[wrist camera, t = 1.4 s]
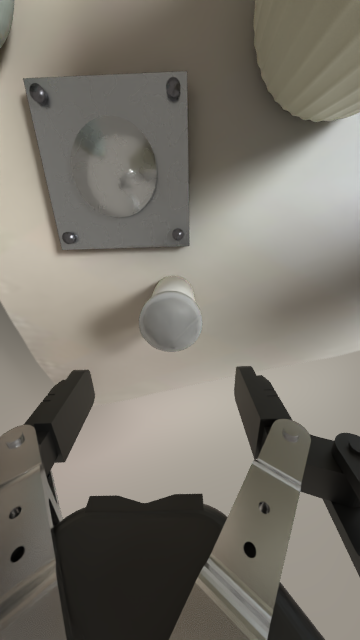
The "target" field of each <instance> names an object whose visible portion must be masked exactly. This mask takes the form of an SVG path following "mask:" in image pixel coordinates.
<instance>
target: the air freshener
mask: <svg viewBox="0 0 360 640" xmlns="http://www.w3.org/2000/svg"><path fill="white" fill-rule="evenodd" d="M13 11H14V0H0V48H1V47H2V45H3V44H4V42H5V40H6V38H7V36H8V34H9V31H10V27H11V24H12V20H13Z"/></svg>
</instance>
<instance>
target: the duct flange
mask: <svg viewBox="0 0 360 640" xmlns="http://www.w3.org/2000/svg"><path fill="white" fill-rule="evenodd" d="M23 80H24V85H25V89H26V94H27V98H28V102H29V107H30V111H31V116H32V120H33V124H34V129H35V133H36V137H37V142H38V146H39V151H40V155H41V159H42V164H43V168H44V173H45V177H46V181H47V186H48V190H49V195H50V199H51V203H52V208H53V212H54V216H55V221H56V225H57V230H58V234H59V238H60V243H61V247H62V250H74V249H105V248H137V247H169V246H189V179H188V103H187V71H181V72H158V73H135V74H113V75H90V76H67V77H45V78H23Z"/></svg>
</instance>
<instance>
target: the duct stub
mask: <svg viewBox="0 0 360 640" xmlns="http://www.w3.org/2000/svg"><path fill="white" fill-rule="evenodd" d="M139 327H140V331H141V334H142V336H143V337H144V339H145V340H146V341H147V342H148V343H149V344H150V345H151V346H153V347H155V348H156V349H159V350H162V351H167V352H176V351H181V350H184V349H186V348H188V347H189V346H191V345H192V344H193V343H194V342H195V341H196V340H197V339H198V337H199V335H200V333H201V330H202V317H201V312H200V309H199V307H198V305H197V304H196V302H195V298H194V293H193V289H192V287H191V285H190V283H189V282H188V281H187V280H186V279H184V278H182V277H179V276H168V277H165V278H163V279H162V280H160V281H159V282H158V284H157V285H156V287H155V290H154V292H153V294H152V297H151V298H150V299H149V300H148V301H147V302H146V303H145V305H144V307H143V309H142V311H141V313H140V317H139Z"/></svg>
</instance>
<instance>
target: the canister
mask: <svg viewBox="0 0 360 640" xmlns="http://www.w3.org/2000/svg"><path fill="white" fill-rule="evenodd" d="M253 28H254V32H255V37H254V47H255V50H256V53H257V64H258V66H259V67H260V70H261V77H262V79H263V80H264V82H265V84H266V86H267V90H268V92H270V93H271V94H272V96H273V97H274V101H275V102H278V103H279V104H280V105H281V106H282V108H283V110H287V111H289V112H290V113H291V115H292V116H298V117H300V118H301V119H302V120H312V121H314V122H319V121H333V120H336V119H341V118H346V117H349V116H352V115H354V114H357V113H359V112H360V0H255V12H254V20H253Z"/></svg>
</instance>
